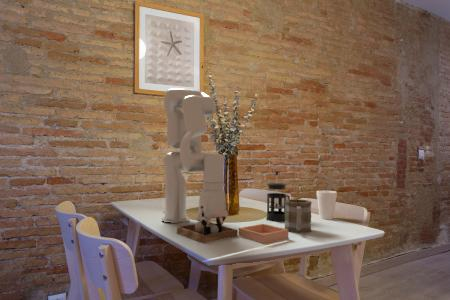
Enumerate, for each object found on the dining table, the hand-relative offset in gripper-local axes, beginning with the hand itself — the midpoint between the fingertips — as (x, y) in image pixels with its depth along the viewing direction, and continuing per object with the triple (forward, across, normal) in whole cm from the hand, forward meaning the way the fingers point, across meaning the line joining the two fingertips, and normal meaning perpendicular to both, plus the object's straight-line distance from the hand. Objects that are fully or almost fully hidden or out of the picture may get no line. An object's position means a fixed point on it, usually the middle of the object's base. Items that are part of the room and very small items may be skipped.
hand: (212, 235), depth 127 cm
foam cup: (+1, -66, +4) cm, 67 cm away
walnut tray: (+1, 0, -3) cm, 3 cm away
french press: (+1, -44, -8) cm, 45 cm away
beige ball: (0, +1, -7) cm, 7 cm away
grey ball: (0, 0, 0) cm, 0 cm away
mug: (+1, -34, +13) cm, 36 cm away
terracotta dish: (+1, -14, +12) cm, 19 cm away
